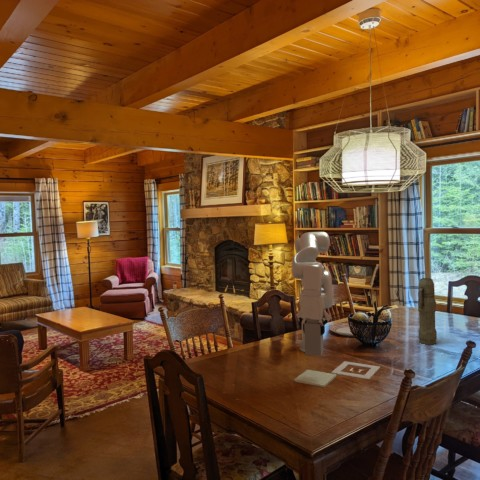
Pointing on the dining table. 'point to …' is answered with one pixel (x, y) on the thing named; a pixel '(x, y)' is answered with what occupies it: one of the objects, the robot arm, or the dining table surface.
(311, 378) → the sage coaster
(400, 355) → the dining table surface
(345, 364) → the frame
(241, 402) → the dining table surface
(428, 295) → the thermos
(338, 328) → the dinner plate
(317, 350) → the perfume bottle
